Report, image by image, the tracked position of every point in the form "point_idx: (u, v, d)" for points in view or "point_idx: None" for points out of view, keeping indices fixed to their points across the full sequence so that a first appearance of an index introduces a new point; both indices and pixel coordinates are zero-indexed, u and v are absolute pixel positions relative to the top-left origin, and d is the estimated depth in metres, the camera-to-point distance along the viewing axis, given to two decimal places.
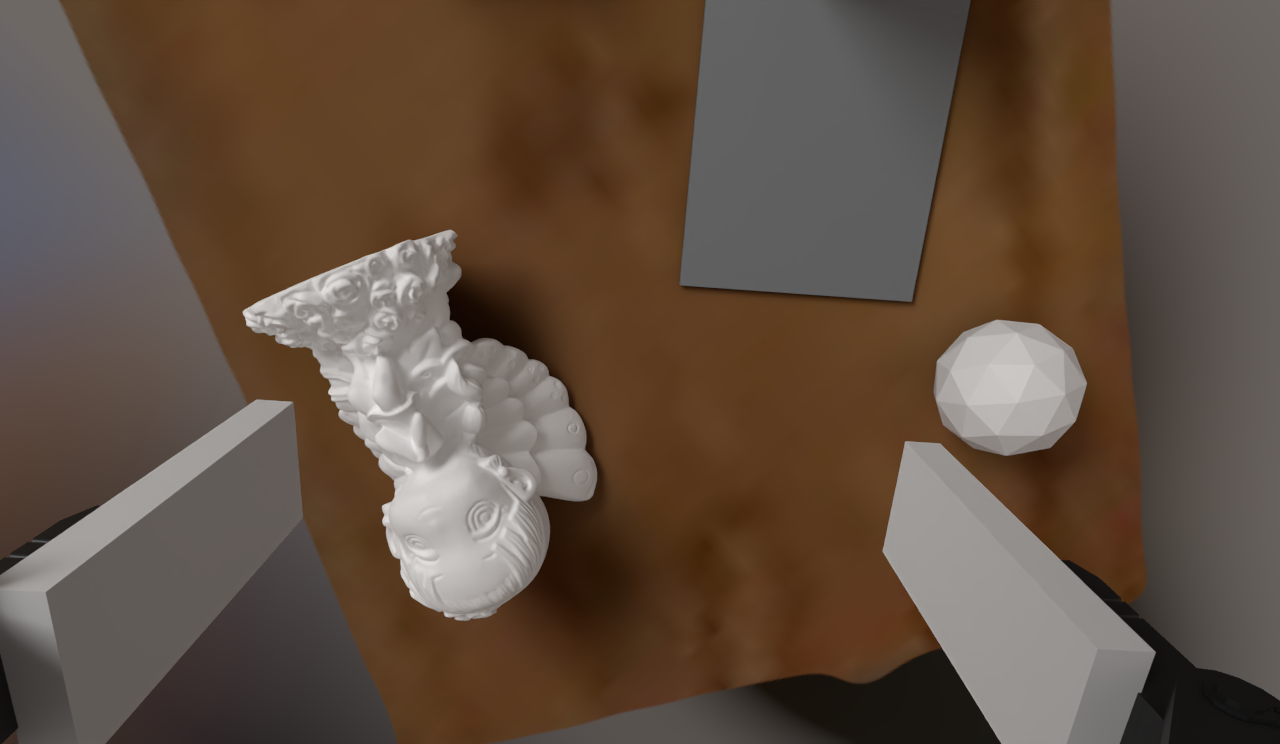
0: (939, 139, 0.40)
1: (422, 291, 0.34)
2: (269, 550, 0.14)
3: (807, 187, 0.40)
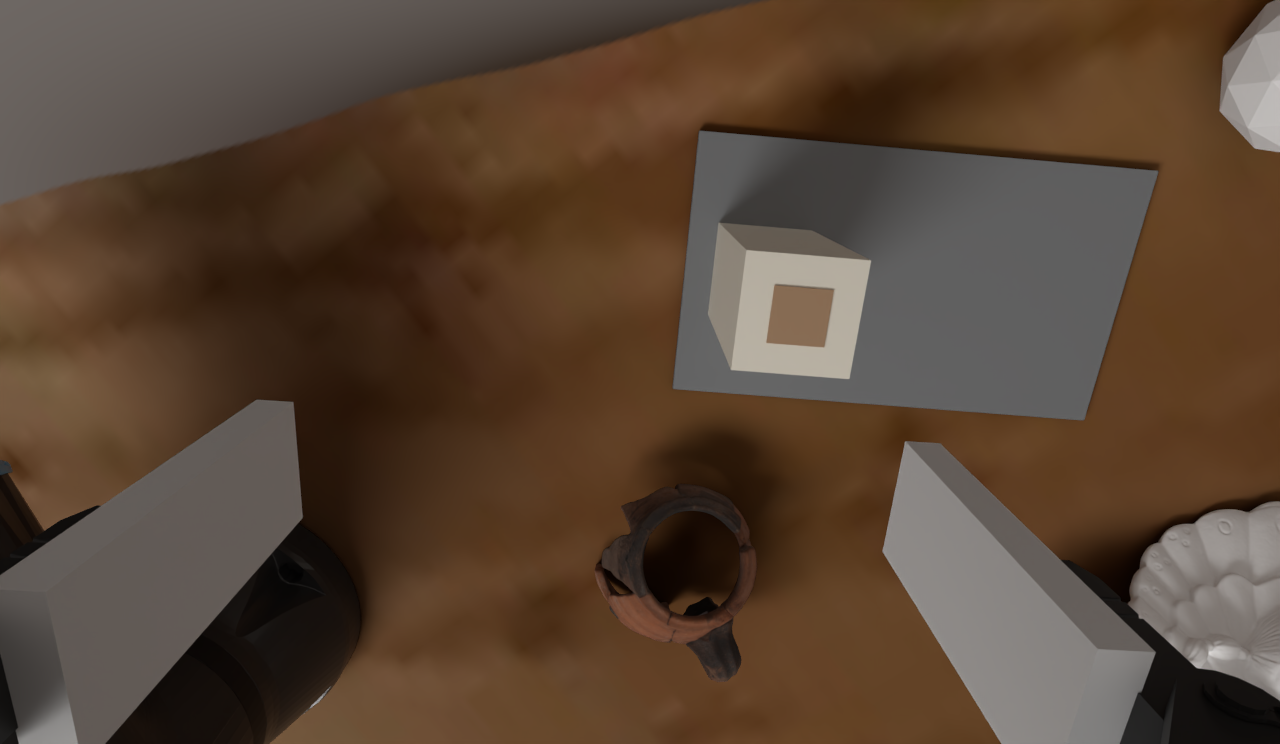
0: (982, 160, 0.36)
1: None
2: (269, 550, 0.14)
3: (1008, 297, 0.39)
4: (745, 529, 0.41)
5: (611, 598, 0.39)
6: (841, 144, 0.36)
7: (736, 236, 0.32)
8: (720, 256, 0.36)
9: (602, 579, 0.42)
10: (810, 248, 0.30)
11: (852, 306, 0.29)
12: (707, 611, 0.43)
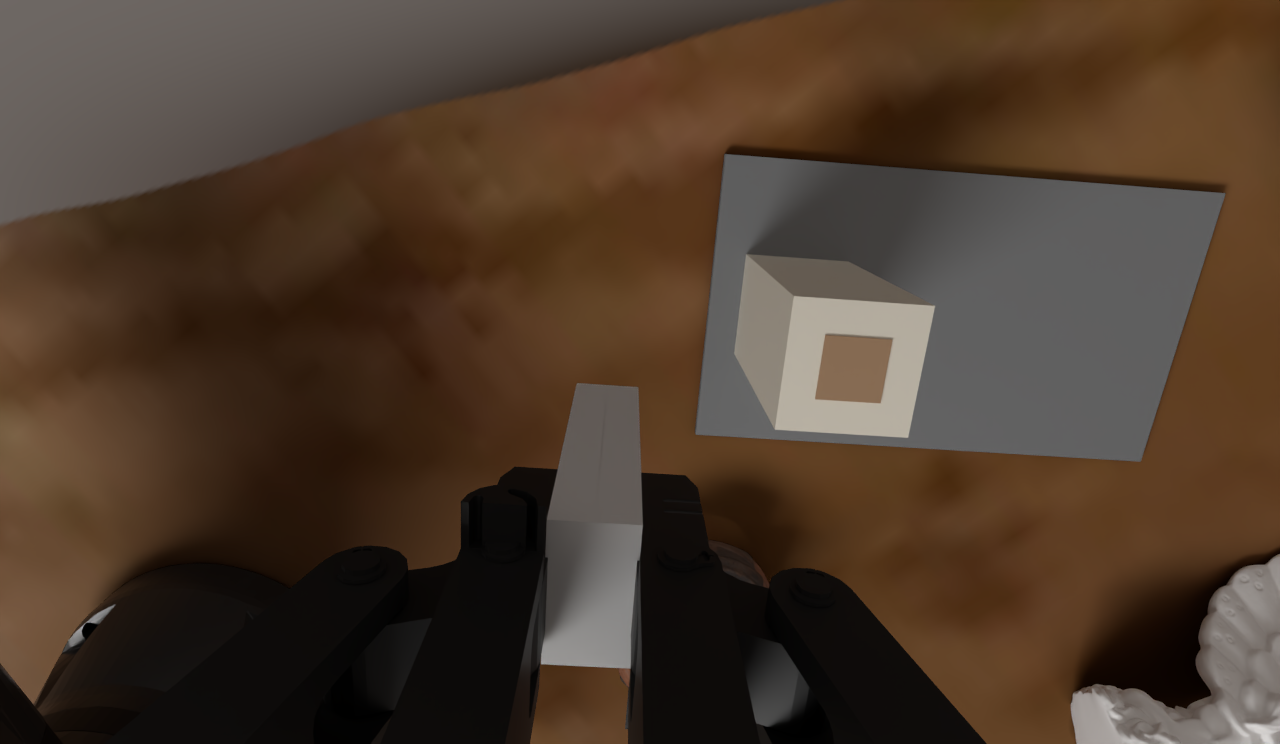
0: (1035, 183, 0.33)
1: None
2: None
3: (1061, 331, 0.35)
4: (767, 587, 0.37)
5: (622, 669, 0.36)
6: (881, 167, 0.33)
7: (773, 274, 0.29)
8: (751, 293, 0.32)
9: None
10: (860, 289, 0.27)
11: (913, 357, 0.25)
12: None
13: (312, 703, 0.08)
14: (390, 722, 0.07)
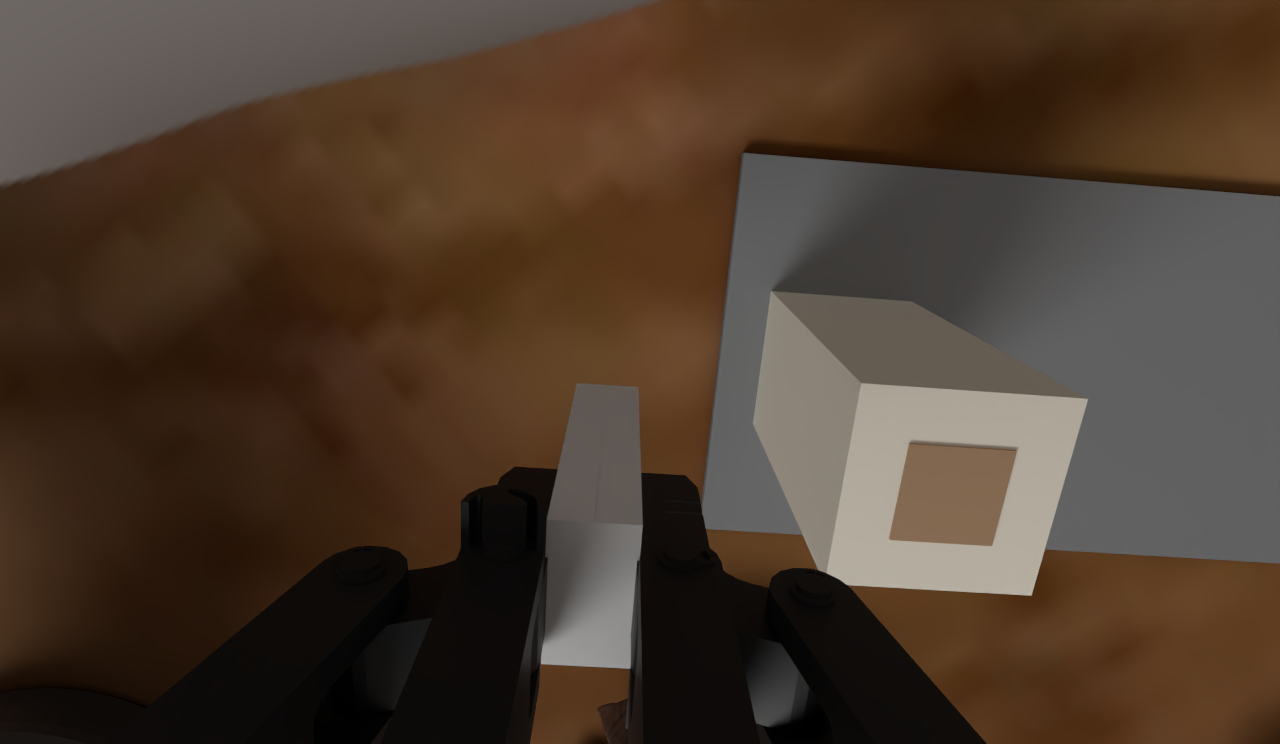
0: (1175, 195, 0.24)
1: None
2: None
3: (1198, 395, 0.26)
4: None
5: None
6: (961, 172, 0.23)
7: (818, 332, 0.19)
8: (779, 349, 0.23)
9: None
10: (956, 362, 0.17)
11: (1047, 477, 0.16)
12: None
13: (312, 703, 0.08)
14: (390, 722, 0.07)
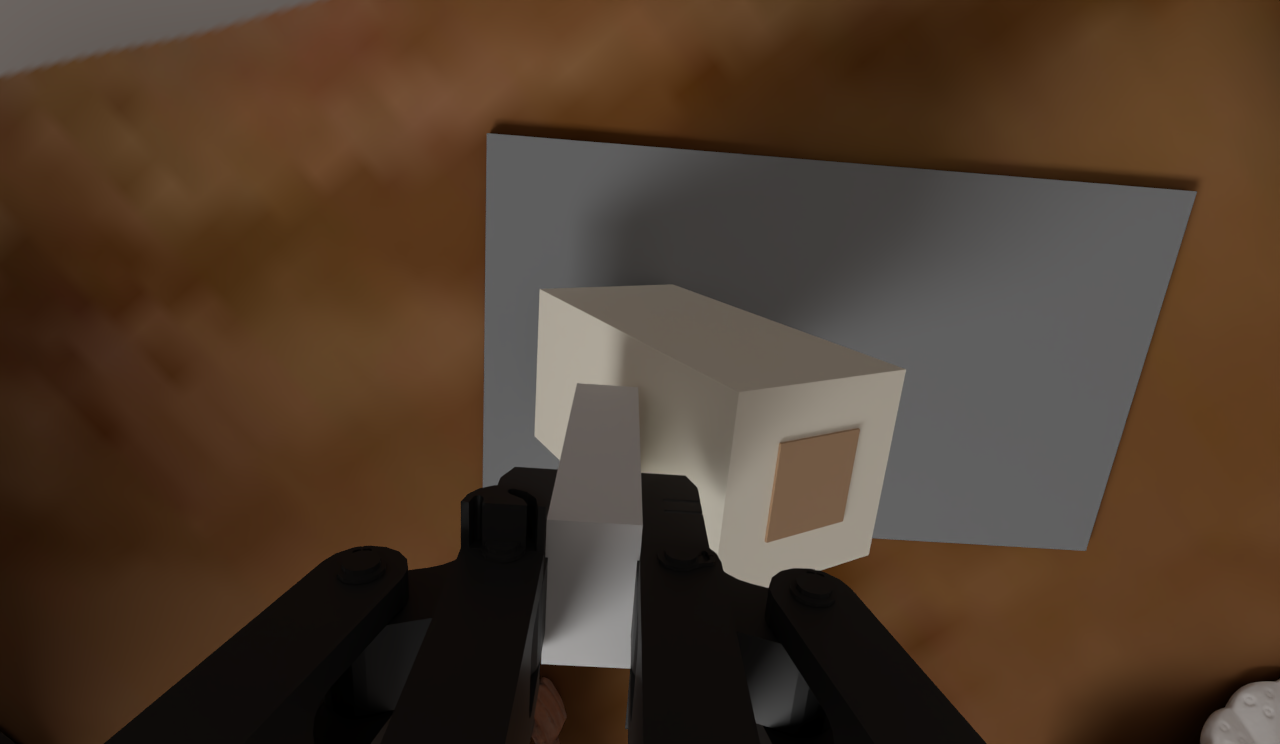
0: (929, 176, 0.24)
1: None
2: None
3: (973, 380, 0.26)
4: (552, 723, 0.28)
5: None
6: (710, 153, 0.23)
7: (636, 335, 0.18)
8: (570, 353, 0.21)
9: None
10: (780, 349, 0.17)
11: (879, 446, 0.17)
12: None
13: (312, 703, 0.08)
14: (390, 722, 0.07)
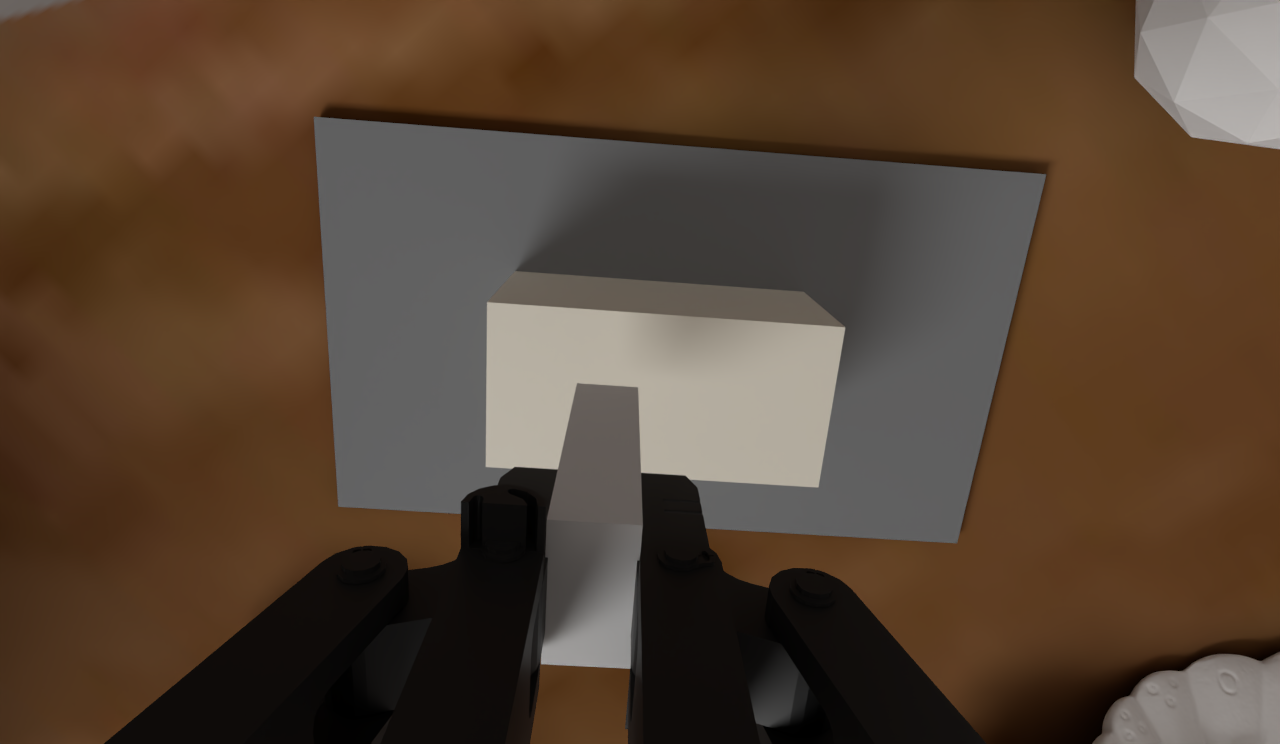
0: (769, 159, 0.23)
1: None
2: None
3: None
4: None
5: None
6: (543, 136, 0.23)
7: (691, 314, 0.20)
8: (570, 357, 0.20)
9: None
10: (749, 298, 0.23)
11: None
12: None
13: (312, 702, 0.08)
14: (390, 722, 0.07)
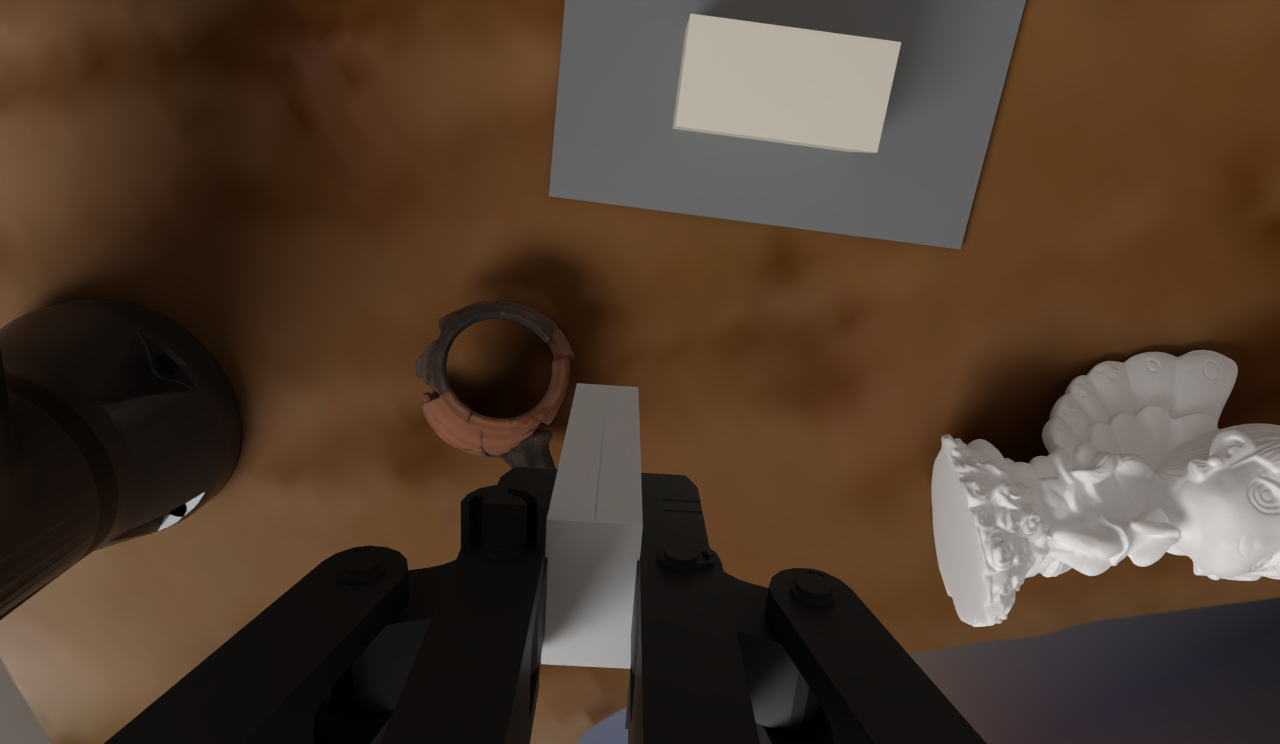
0: None
1: (1011, 485, 0.37)
2: None
3: None
4: (564, 346, 0.41)
5: (423, 406, 0.39)
6: None
7: (809, 30, 0.33)
8: (735, 53, 0.33)
9: None
10: None
11: None
12: None
13: (312, 703, 0.08)
14: (390, 722, 0.07)
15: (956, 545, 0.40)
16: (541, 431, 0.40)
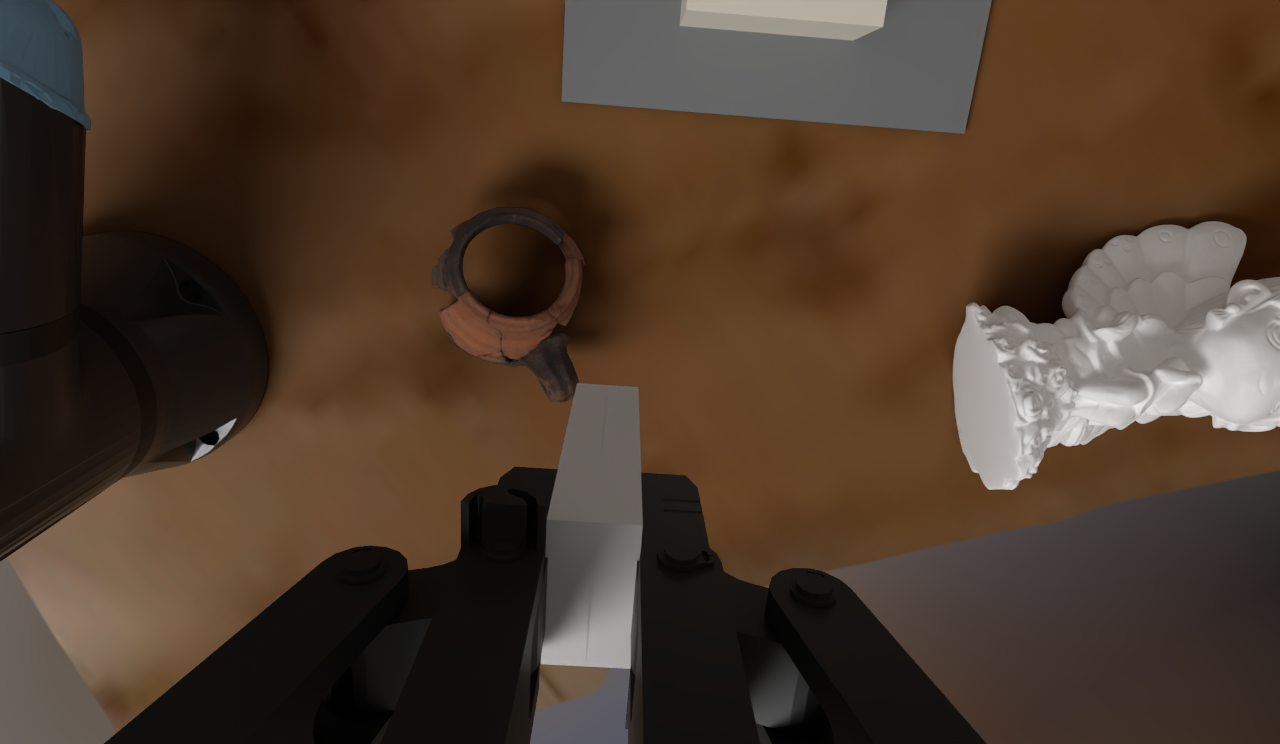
0: None
1: (1038, 341, 0.38)
2: None
3: None
4: (575, 250, 0.42)
5: (441, 313, 0.40)
6: None
7: None
8: None
9: None
10: None
11: None
12: None
13: (312, 703, 0.08)
14: (390, 722, 0.07)
15: (983, 411, 0.41)
16: (558, 332, 0.41)
